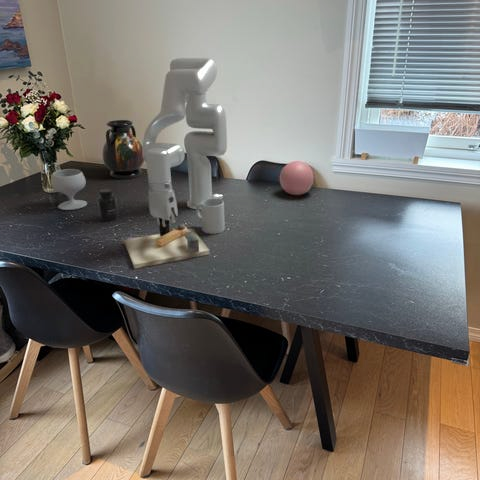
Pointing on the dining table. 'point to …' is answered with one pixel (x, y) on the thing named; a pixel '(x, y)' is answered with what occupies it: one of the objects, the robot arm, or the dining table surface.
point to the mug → (211, 215)
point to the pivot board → (165, 249)
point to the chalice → (69, 187)
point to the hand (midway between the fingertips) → (165, 235)
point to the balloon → (296, 178)
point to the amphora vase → (122, 150)
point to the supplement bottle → (107, 205)
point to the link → (170, 236)
